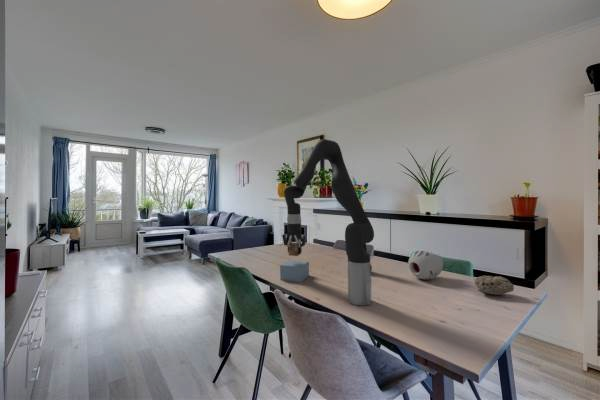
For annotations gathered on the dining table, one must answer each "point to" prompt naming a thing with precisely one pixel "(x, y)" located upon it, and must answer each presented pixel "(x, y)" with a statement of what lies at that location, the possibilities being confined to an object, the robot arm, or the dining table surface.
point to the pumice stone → (493, 285)
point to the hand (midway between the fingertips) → (294, 253)
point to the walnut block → (293, 249)
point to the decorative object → (425, 264)
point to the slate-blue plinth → (294, 270)
